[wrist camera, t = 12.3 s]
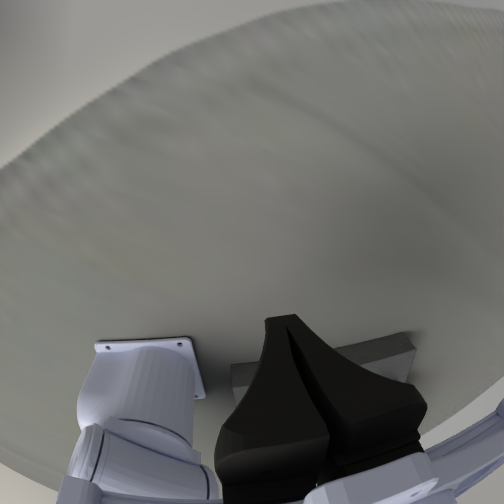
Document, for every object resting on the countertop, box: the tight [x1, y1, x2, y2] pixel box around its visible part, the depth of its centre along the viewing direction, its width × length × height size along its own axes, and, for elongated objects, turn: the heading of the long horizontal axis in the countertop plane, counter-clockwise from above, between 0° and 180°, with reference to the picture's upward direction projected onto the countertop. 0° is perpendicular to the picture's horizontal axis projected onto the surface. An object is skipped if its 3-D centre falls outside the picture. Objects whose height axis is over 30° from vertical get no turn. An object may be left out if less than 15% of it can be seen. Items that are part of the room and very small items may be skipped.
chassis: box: [231, 332, 416, 407], centre depth 29 cm, size 18×20×4 cm
